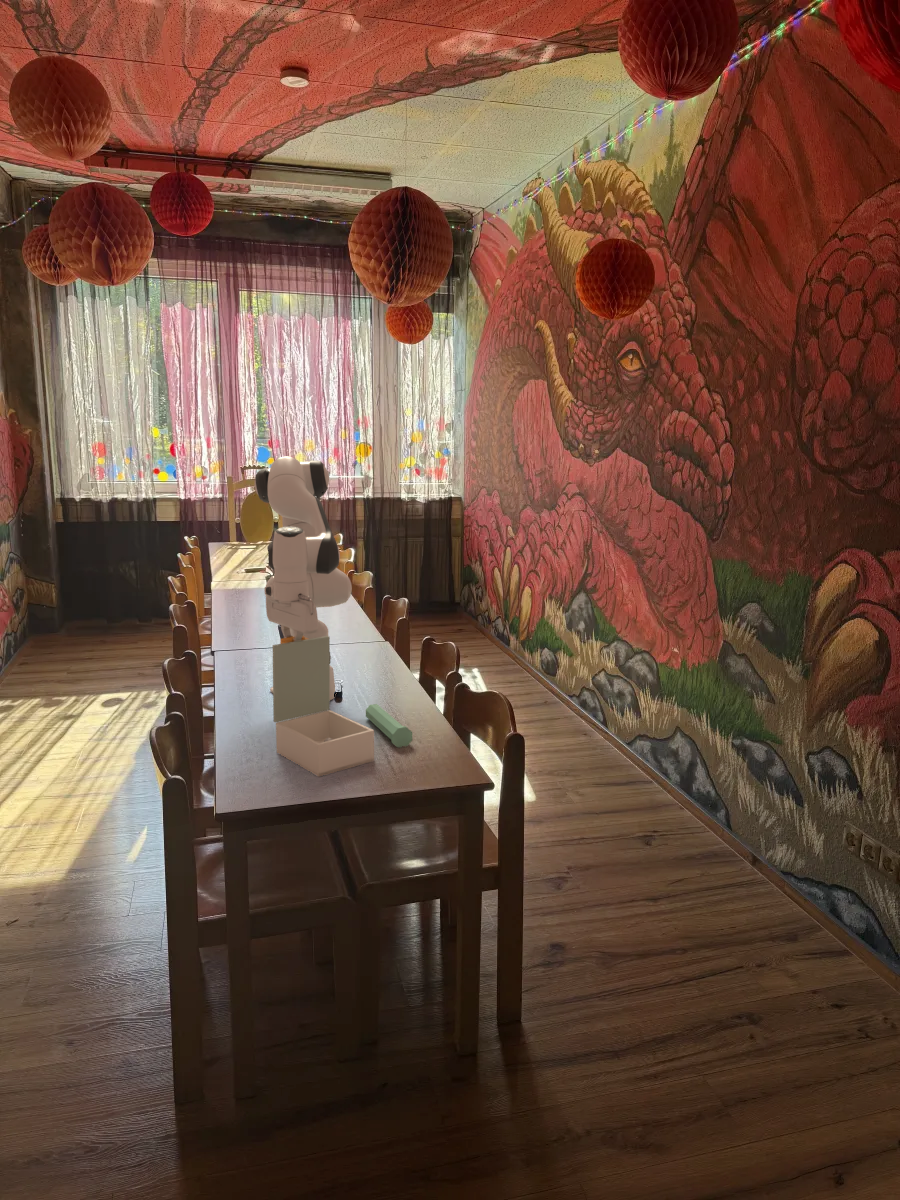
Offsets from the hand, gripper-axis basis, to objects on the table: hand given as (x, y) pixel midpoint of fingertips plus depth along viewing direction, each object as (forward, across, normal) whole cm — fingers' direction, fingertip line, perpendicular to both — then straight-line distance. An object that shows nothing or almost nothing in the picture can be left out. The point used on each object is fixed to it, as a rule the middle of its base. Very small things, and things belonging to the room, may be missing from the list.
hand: (292, 644), depth 222 cm
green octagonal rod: (+27, -9, -23) cm, 37 cm away
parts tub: (+26, -14, 0) cm, 30 cm away
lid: (+8, -5, 0) cm, 10 cm away
